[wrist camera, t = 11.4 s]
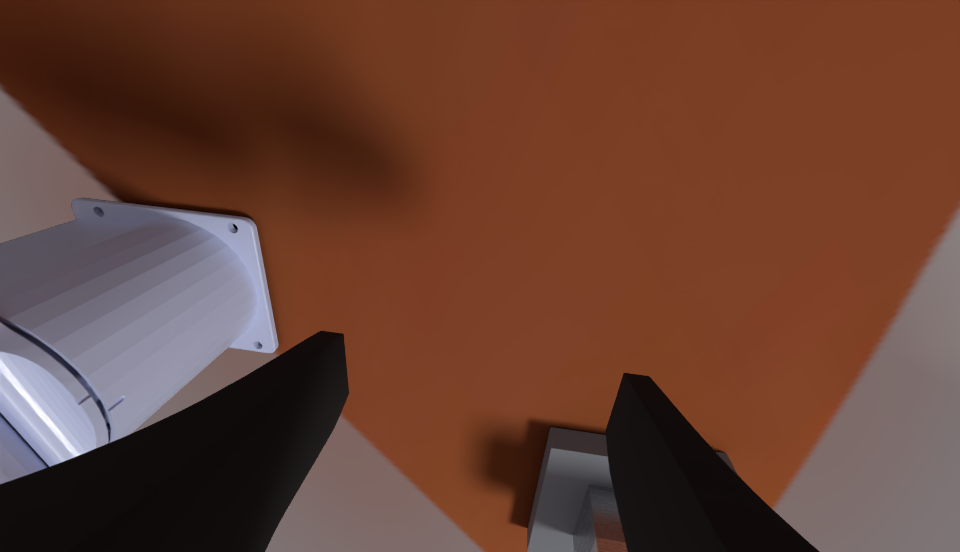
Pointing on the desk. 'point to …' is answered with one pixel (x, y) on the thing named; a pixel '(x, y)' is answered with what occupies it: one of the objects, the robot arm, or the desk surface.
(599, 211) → the desk surface
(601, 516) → the block
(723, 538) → the robot arm
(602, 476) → the stand
